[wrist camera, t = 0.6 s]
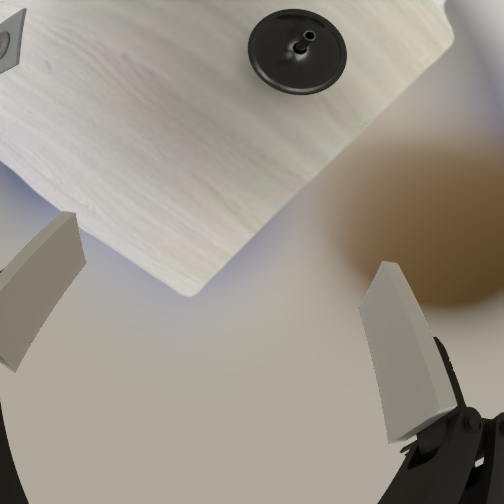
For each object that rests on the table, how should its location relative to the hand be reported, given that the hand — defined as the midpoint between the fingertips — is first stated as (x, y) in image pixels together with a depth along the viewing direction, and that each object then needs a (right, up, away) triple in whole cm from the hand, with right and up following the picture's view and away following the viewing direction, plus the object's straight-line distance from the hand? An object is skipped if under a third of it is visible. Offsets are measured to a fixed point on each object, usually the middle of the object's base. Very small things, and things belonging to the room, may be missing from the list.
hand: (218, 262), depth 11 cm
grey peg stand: (-45, +39, +10) cm, 60 cm away
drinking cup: (+6, +23, +17) cm, 29 cm away
